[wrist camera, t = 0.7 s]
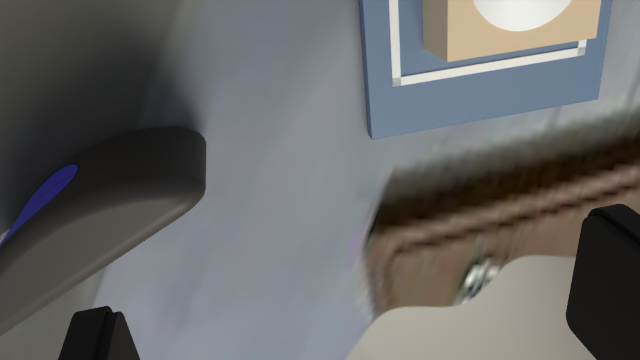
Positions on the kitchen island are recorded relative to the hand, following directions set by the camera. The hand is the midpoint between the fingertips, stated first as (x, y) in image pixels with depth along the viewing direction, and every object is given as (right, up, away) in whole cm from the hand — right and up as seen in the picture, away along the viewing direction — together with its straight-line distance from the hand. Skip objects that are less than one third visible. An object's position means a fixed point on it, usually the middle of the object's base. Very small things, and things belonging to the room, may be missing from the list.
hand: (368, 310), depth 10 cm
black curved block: (-16, +2, +26) cm, 31 cm away
